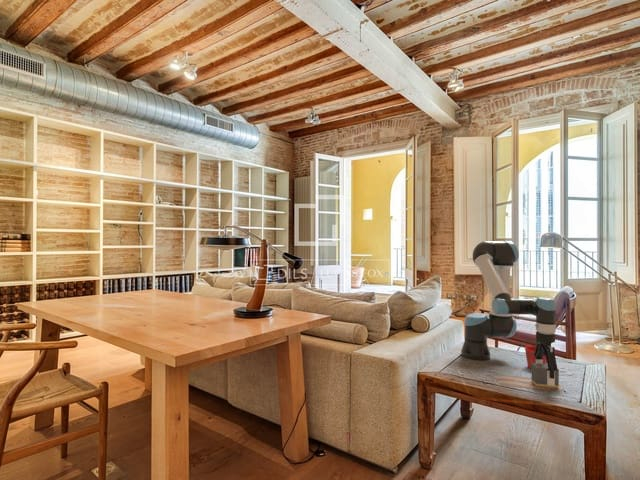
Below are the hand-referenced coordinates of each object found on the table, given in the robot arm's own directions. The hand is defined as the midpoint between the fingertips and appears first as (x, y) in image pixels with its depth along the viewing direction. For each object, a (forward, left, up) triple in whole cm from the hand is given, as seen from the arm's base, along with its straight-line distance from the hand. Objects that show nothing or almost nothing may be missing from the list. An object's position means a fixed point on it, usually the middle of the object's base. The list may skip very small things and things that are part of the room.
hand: (544, 379), depth 167 cm
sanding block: (0, 0, -2) cm, 2 cm away
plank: (0, -7, -3) cm, 8 cm away
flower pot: (-24, +5, -3) cm, 25 cm away
